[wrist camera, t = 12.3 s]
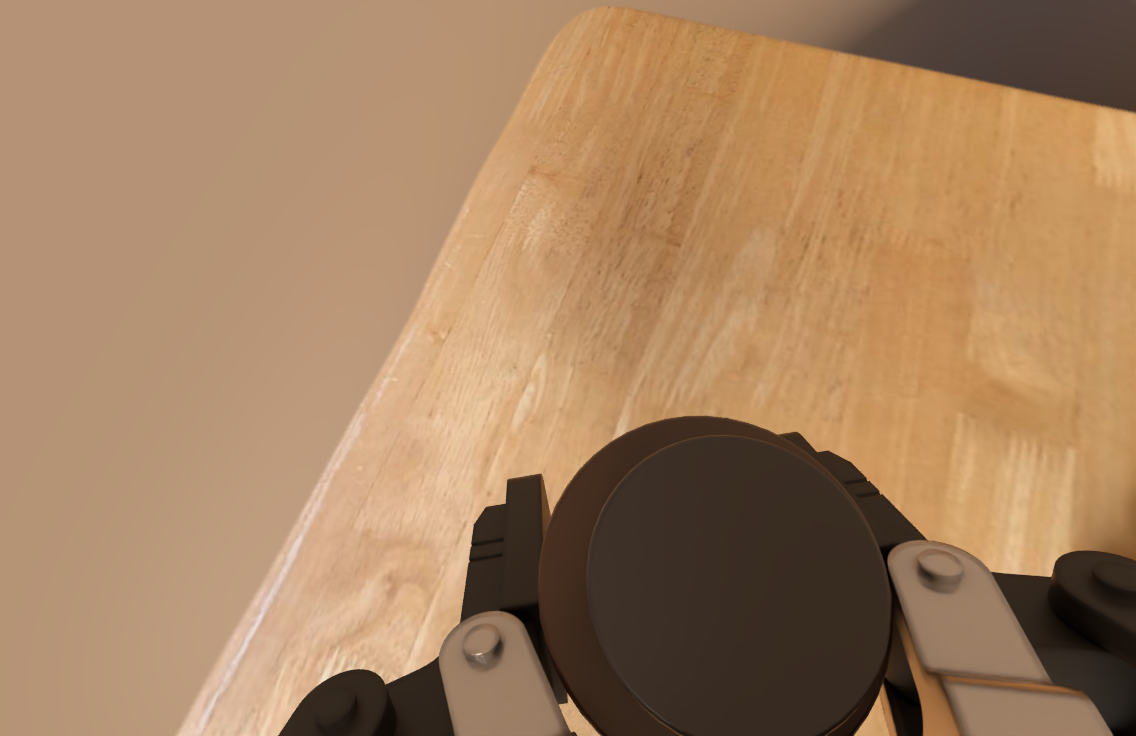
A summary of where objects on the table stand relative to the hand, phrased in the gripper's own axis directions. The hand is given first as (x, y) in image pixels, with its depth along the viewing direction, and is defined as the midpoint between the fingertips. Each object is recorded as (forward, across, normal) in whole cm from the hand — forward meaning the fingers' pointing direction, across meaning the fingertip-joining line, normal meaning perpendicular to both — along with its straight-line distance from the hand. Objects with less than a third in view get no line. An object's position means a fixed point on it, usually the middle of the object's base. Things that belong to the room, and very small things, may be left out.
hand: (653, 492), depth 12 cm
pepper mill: (+2, 0, +4) cm, 5 cm away
